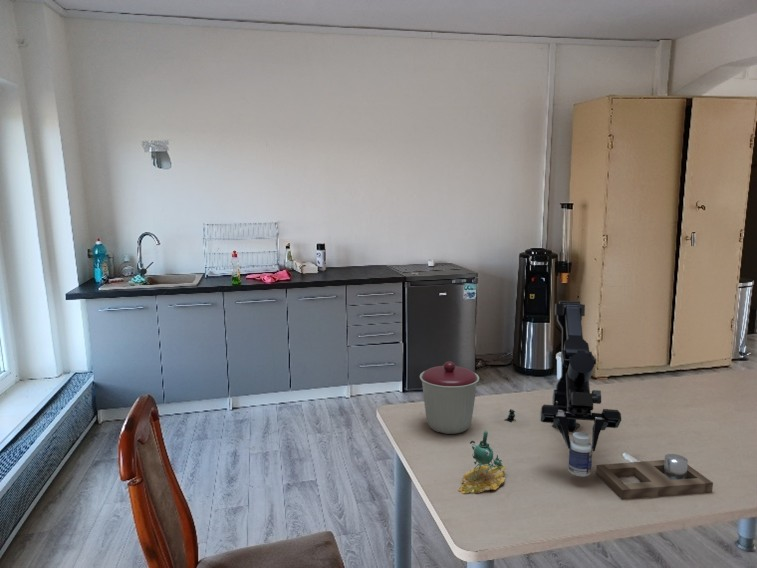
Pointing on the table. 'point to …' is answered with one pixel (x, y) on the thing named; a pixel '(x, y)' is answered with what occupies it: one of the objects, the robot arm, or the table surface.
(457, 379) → the canister
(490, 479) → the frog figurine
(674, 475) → the steel peg
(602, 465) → the brown holder board
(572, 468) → the pill bottle
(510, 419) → the sculpture
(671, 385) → the table surface
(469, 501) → the table surface
